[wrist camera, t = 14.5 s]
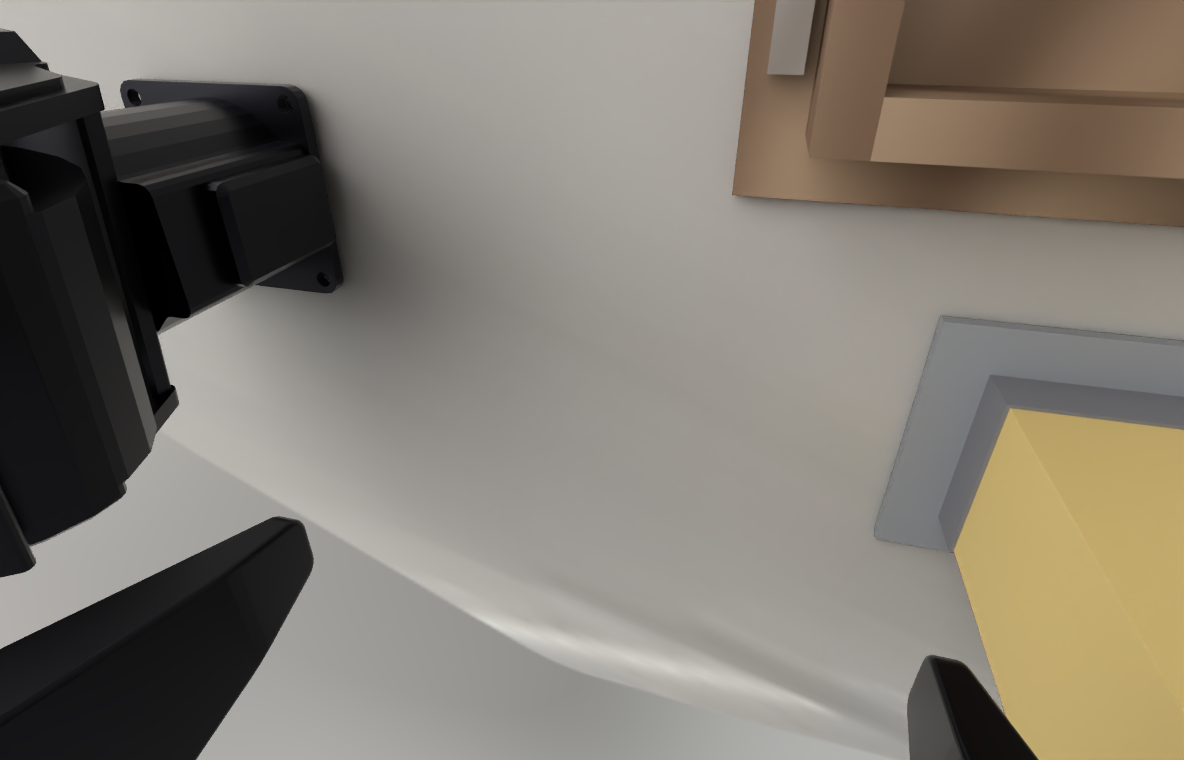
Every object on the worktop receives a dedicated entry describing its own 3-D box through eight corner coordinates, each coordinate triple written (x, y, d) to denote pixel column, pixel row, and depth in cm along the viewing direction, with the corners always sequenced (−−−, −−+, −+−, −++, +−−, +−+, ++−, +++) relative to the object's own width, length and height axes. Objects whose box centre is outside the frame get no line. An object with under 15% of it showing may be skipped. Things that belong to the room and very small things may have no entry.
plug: (938, 516, 20) (1090, 1015, 10) (989, 374, 18) (1264, 857, 8) (1126, 547, 19) (1507, 1142, 9) (1212, 400, 16) (1881, 1009, 6)
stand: (873, 531, 22) (875, 539, 21) (940, 315, 18) (943, 322, 17) (1145, 578, 20) (1151, 588, 20) (1288, 351, 16) (1300, 359, 15)
